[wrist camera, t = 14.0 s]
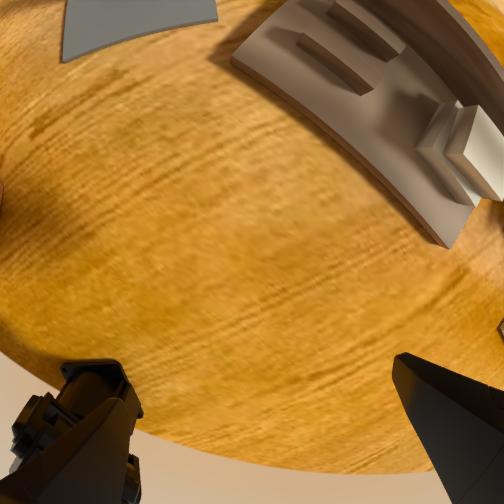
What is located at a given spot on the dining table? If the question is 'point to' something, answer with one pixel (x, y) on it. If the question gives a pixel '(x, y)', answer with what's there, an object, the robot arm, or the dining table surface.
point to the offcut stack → (465, 153)
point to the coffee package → (1, 193)
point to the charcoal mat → (127, 21)
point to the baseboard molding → (502, 328)
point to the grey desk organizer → (380, 85)
